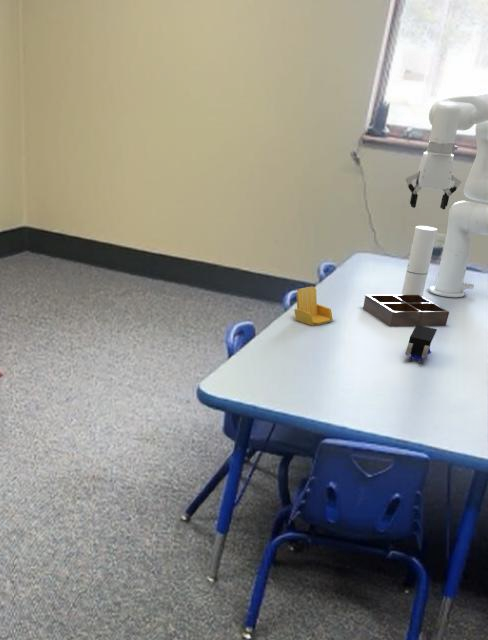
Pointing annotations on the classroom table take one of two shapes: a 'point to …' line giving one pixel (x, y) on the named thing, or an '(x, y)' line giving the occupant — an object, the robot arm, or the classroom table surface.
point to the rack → (405, 310)
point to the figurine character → (420, 342)
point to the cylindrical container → (419, 260)
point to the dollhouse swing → (311, 308)
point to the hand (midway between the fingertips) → (427, 207)
